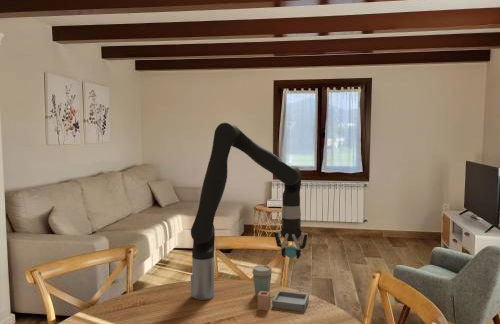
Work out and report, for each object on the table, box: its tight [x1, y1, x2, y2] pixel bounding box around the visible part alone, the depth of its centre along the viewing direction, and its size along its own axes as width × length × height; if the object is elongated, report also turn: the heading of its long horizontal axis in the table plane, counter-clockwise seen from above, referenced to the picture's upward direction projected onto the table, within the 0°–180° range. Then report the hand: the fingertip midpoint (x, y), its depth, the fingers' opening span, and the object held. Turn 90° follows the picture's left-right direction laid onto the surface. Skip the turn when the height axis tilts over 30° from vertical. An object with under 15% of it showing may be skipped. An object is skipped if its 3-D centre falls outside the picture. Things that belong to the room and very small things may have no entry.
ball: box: [285, 244, 297, 259], centre depth 164 cm, size 5×5×5 cm
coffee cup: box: [252, 264, 273, 298], centre depth 174 cm, size 8×8×12 cm
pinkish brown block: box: [257, 291, 271, 312], centre depth 161 cm, size 4×4×6 cm
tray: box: [271, 290, 310, 312], centre depth 165 cm, size 13×11×3 cm
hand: (291, 257), depth 164 cm, fingers closed on ball, 5 cm apart
